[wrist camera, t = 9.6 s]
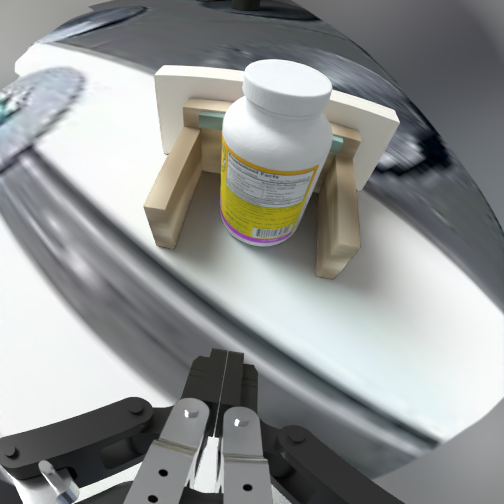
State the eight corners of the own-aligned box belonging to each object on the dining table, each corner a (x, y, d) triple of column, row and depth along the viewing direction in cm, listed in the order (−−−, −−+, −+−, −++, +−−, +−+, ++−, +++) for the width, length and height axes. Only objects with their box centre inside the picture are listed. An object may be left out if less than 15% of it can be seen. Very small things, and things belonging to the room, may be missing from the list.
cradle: (156, 245, 21) (137, 185, 15) (191, 158, 26) (188, 97, 20) (333, 279, 22) (374, 231, 16) (333, 185, 27) (358, 130, 20)
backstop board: (163, 153, 26) (154, 74, 18) (170, 141, 27) (163, 65, 19) (360, 191, 27) (399, 122, 19) (359, 177, 28) (394, 110, 20)
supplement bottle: (250, 174, 26) (271, 45, 15) (311, 212, 25) (366, 85, 13) (202, 220, 23) (198, 73, 12) (269, 266, 22) (319, 125, 10)
